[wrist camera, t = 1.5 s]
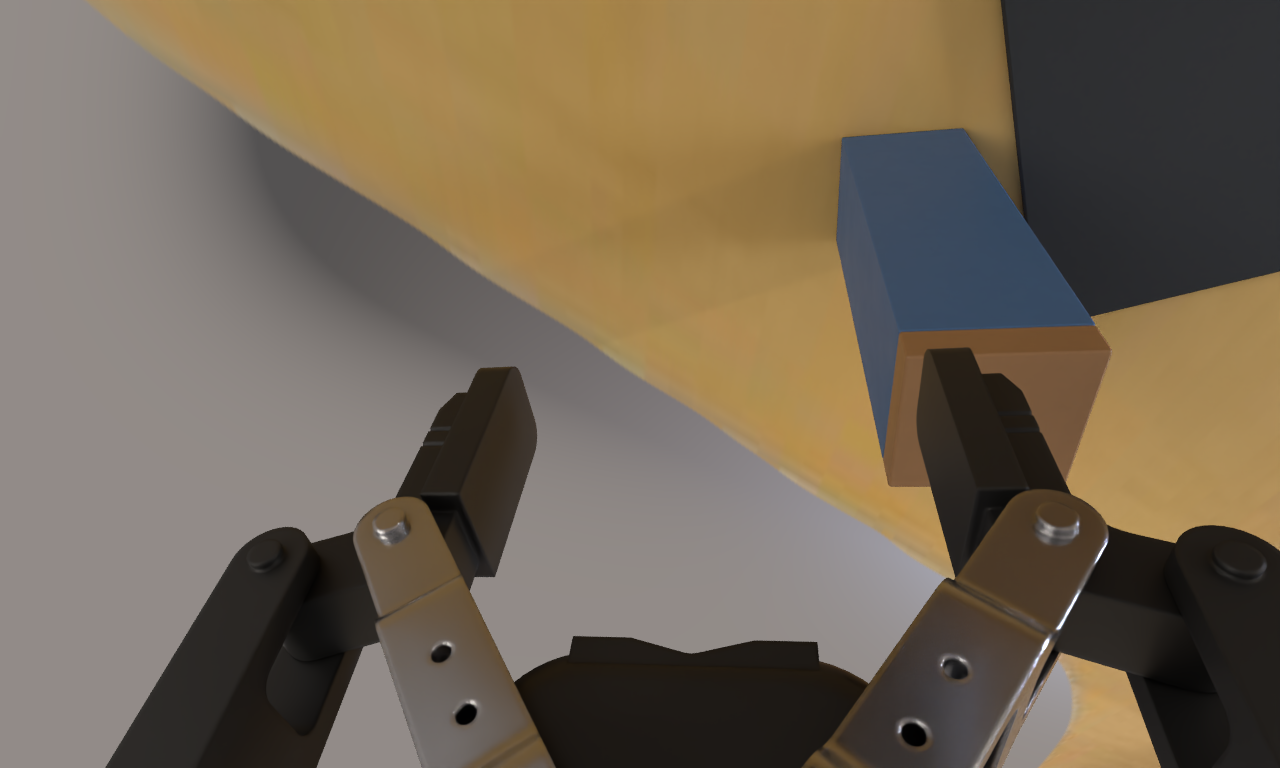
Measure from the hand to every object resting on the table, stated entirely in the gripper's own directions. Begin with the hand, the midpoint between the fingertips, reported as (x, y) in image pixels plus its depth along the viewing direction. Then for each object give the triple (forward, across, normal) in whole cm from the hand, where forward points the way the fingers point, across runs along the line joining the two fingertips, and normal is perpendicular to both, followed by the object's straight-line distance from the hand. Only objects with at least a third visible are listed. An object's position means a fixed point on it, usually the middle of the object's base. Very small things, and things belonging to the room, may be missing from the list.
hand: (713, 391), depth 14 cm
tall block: (+20, -7, +5) cm, 22 cm away
